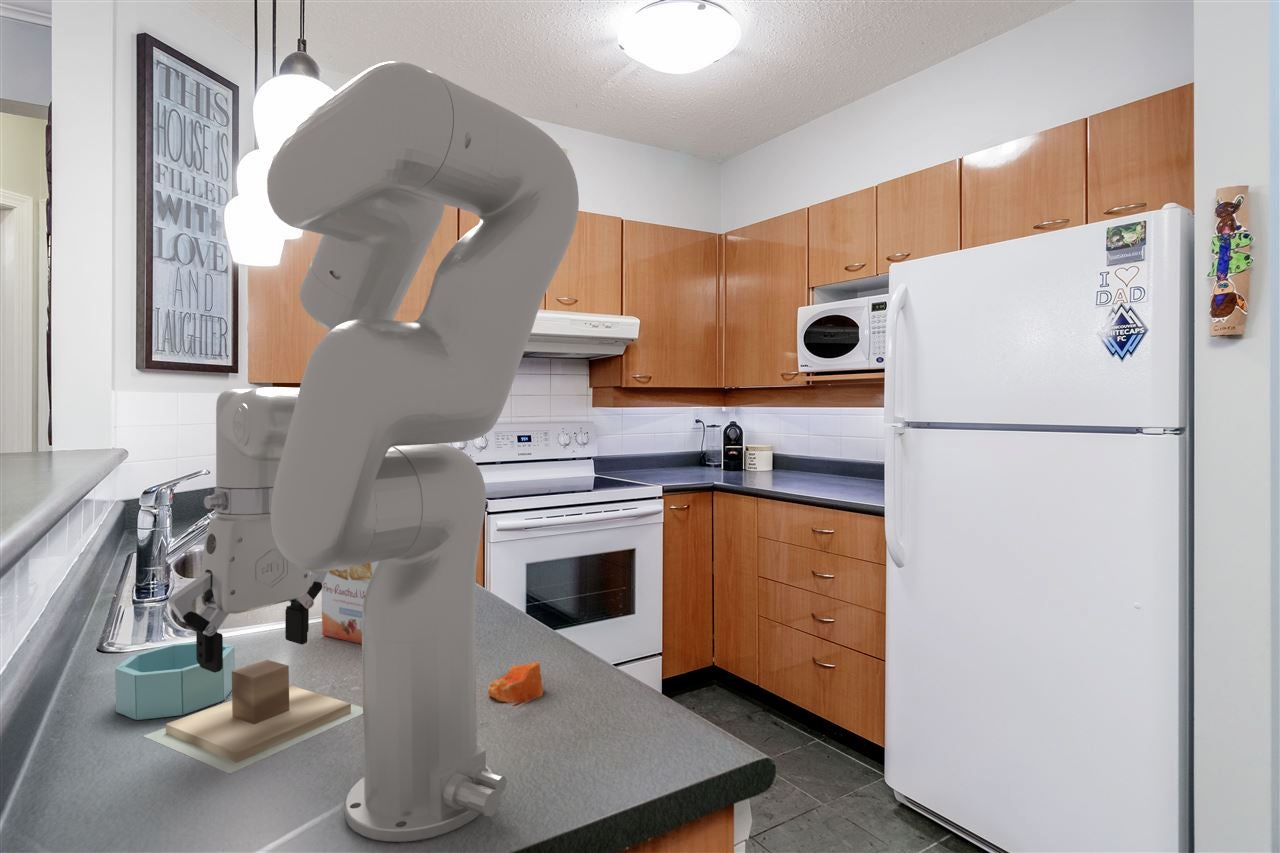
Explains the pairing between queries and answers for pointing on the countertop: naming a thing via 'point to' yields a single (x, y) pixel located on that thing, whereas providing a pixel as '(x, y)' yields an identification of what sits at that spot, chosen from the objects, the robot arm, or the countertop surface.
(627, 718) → the countertop surface
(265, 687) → the lid
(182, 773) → the countertop surface
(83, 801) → the countertop surface
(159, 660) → the bowl
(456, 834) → the countertop surface
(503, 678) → the rock
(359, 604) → the cracker box
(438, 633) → the robot arm
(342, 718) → the mat
